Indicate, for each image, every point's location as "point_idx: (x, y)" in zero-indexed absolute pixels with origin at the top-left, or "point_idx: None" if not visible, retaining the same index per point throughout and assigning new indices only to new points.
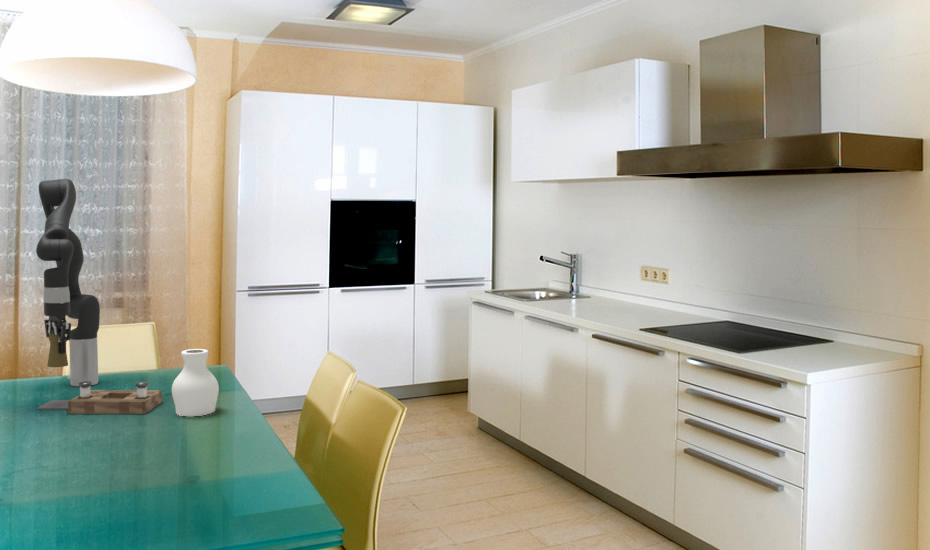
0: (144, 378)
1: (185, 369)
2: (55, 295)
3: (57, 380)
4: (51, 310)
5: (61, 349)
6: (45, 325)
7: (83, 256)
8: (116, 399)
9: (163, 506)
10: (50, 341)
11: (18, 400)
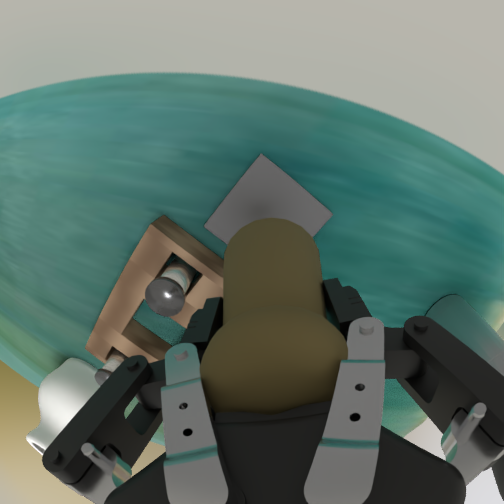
0: (388, 406)
1: (44, 419)
2: None
3: (499, 280)
4: None
5: (189, 321)
6: (491, 384)
7: None
8: (118, 321)
9: None
10: (261, 307)
11: (406, 148)
